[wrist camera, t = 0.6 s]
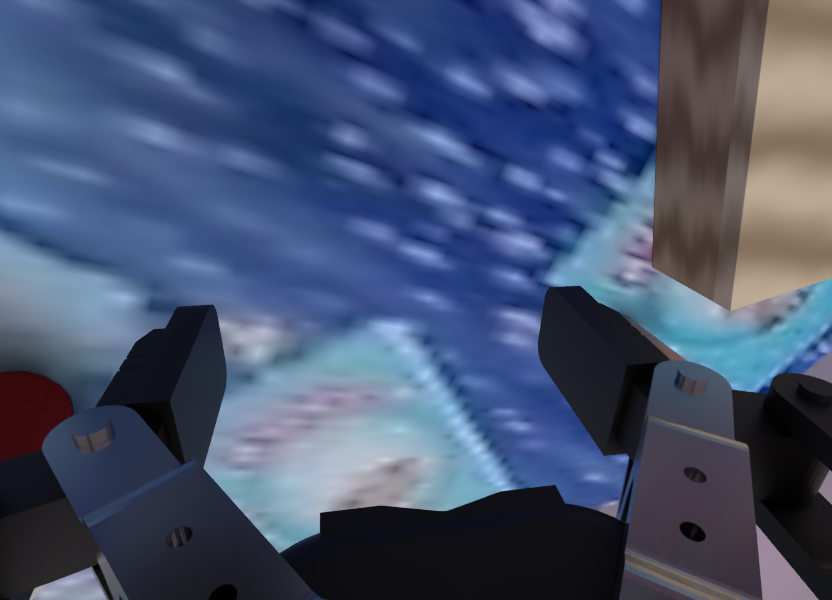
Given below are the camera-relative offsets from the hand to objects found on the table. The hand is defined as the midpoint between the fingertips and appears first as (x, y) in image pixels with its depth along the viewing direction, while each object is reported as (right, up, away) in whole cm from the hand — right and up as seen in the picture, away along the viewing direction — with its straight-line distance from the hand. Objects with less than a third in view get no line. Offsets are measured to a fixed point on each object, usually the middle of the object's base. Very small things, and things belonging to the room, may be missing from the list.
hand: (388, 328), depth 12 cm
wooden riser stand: (+25, +14, +25) cm, 38 cm away
